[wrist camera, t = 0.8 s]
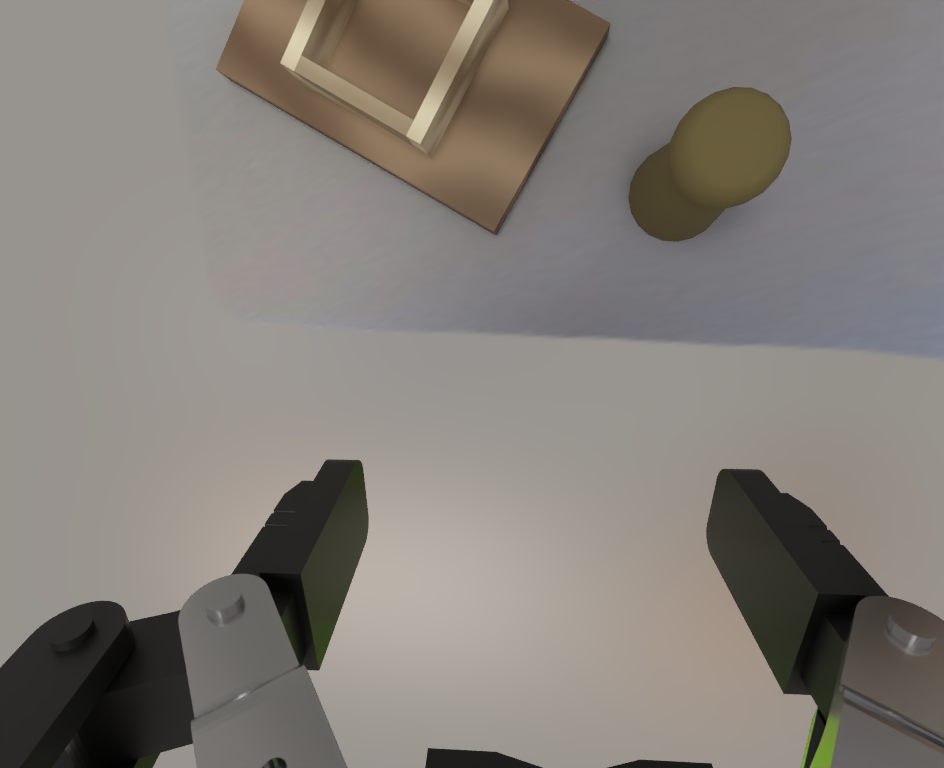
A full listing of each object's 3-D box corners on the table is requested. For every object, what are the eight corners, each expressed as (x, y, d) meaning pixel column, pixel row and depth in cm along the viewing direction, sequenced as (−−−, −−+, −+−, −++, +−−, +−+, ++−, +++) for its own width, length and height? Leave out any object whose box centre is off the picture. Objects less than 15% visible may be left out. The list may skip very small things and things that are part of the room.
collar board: (315, -127, 33) (281, -193, 29) (607, 36, 32) (617, -7, 28) (228, 79, 36) (185, 47, 32) (495, 235, 35) (488, 224, 31)
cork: (629, 245, 34) (670, 215, 23) (627, 150, 33) (668, 73, 22) (725, 237, 33) (814, 202, 22) (725, 139, 32) (817, 54, 22)
